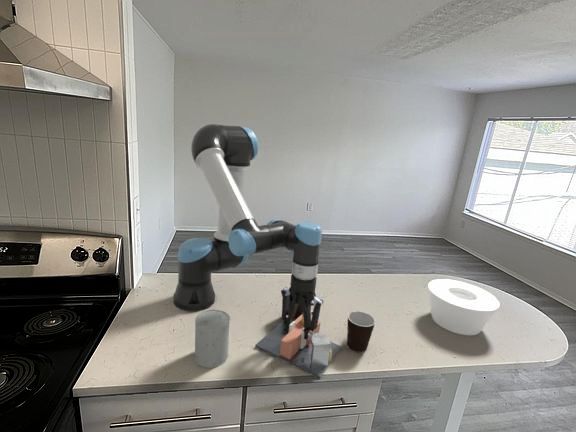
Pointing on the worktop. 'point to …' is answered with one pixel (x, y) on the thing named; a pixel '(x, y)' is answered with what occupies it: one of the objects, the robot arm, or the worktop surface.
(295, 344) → the link
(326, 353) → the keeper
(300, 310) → the mug
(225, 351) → the white marble cylinder
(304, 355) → the dark grey rectangular mat
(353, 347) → the coffee mug
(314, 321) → the robot arm
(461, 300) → the bowl
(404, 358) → the worktop surface
